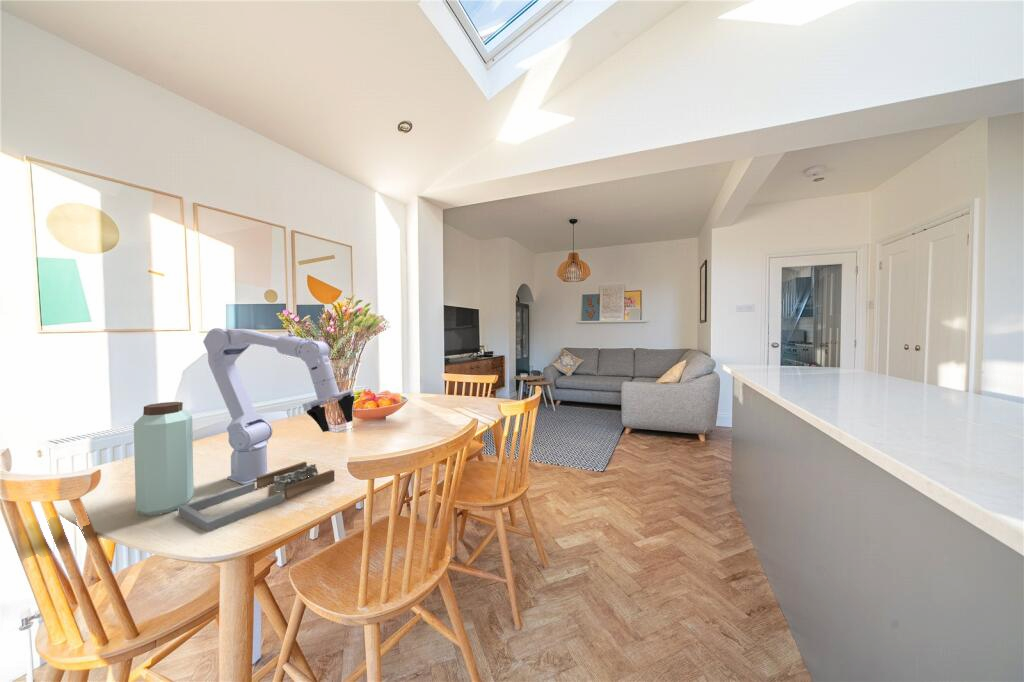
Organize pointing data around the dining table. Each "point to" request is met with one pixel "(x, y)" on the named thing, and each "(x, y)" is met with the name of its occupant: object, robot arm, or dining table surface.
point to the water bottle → (163, 458)
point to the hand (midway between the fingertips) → (338, 426)
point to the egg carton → (294, 477)
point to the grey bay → (209, 524)
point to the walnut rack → (299, 486)
